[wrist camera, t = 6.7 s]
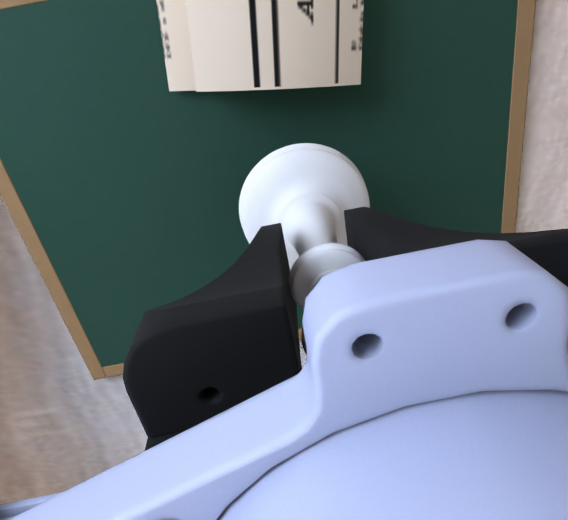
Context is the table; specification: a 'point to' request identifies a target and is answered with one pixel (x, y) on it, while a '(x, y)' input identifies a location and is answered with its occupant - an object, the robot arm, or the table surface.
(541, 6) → the table surface
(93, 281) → the desk mat
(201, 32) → the newspaper
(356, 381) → the robot arm
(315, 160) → the chess piece
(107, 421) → the table surface
